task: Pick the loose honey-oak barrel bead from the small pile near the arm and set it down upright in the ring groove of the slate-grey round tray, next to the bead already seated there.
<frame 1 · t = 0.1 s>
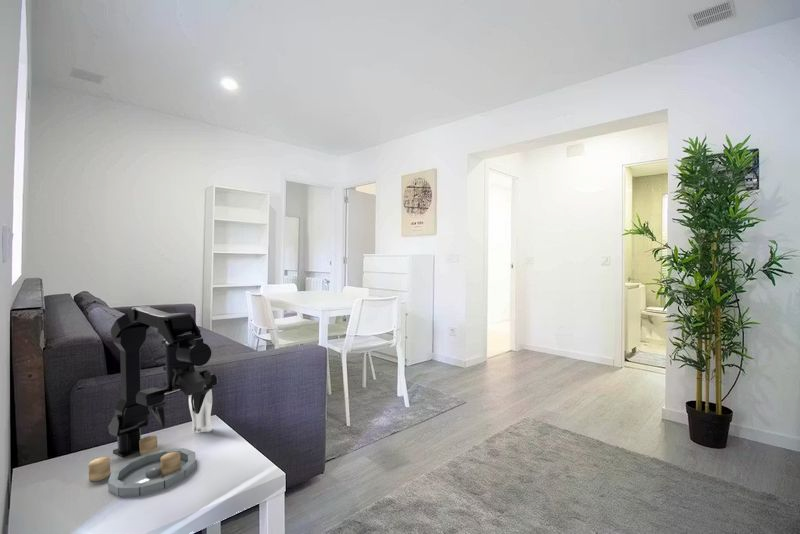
hand: (180, 419, 102), 15 cm above the table, fingers open, 9 cm apart
beer glass: (201, 432, 128), on the table
bead a: (100, 480, 100), on the table
tray: (155, 477, 101), on the table
bead b: (171, 475, 100), point 1 cm above the table, touching tray
bead c: (149, 455, 112), on the table
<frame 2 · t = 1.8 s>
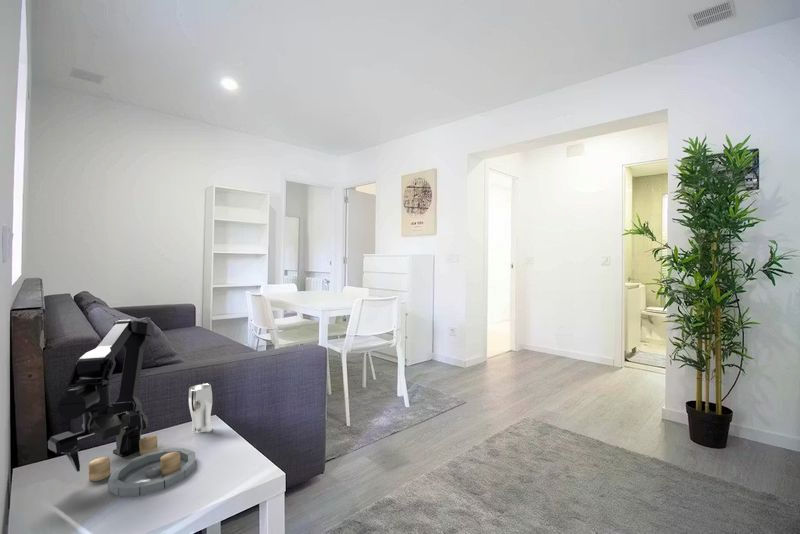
hand: (99, 462, 100), 5 cm above the table, fingers open, 9 cm apart
nothing on the table moved.
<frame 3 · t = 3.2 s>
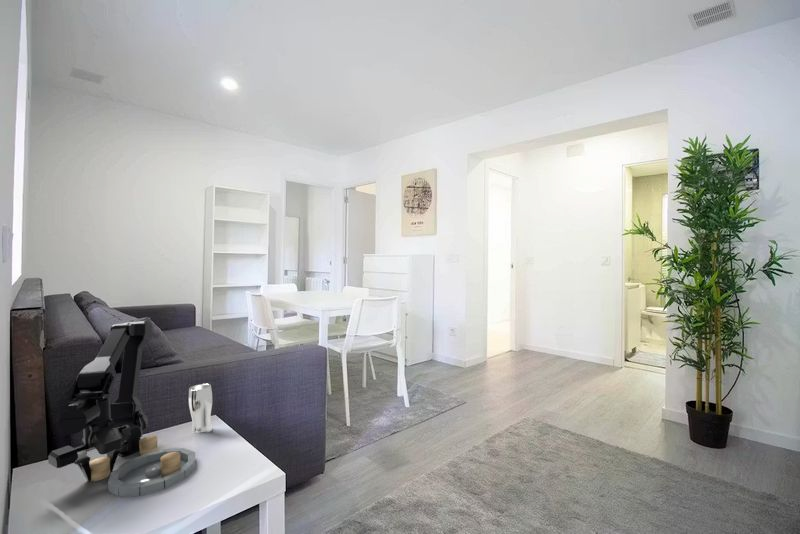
hand: (99, 476, 100), 1 cm above the table, fingers closed on bead a, 4 cm apart
bead a: (100, 480, 100), on the table, touching gripper
everything else where it was.
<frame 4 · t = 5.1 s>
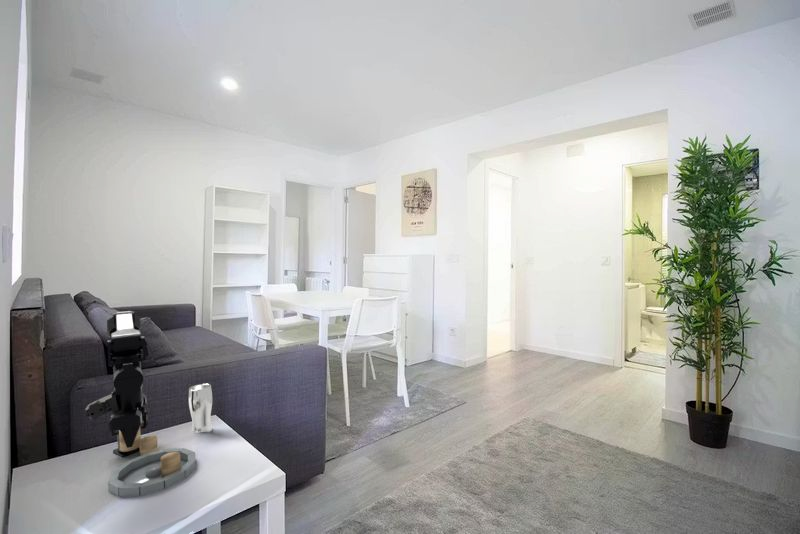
hand: (130, 443, 98), 10 cm above the table, fingers closed on bead a, 4 cm apart
bead a: (130, 447, 98), point 9 cm above the table, touching gripper
everything else where it was.
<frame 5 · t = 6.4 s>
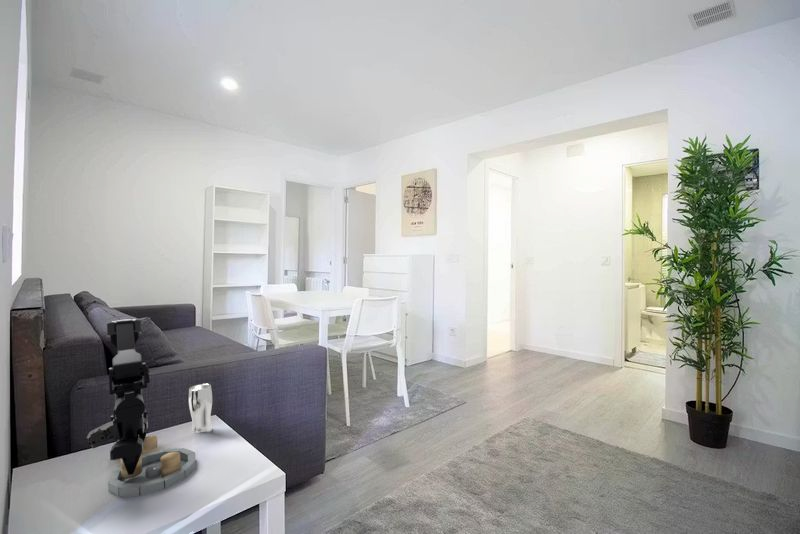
hand: (132, 469, 98), 4 cm above the table, fingers closed on bead a, 4 cm apart
bead a: (131, 473, 98), point 2 cm above the table, touching gripper
everything else where it was.
when the fingers open (4 cm above the table, at t = 7.0 s): bead a drops 1 cm, resting on tray.
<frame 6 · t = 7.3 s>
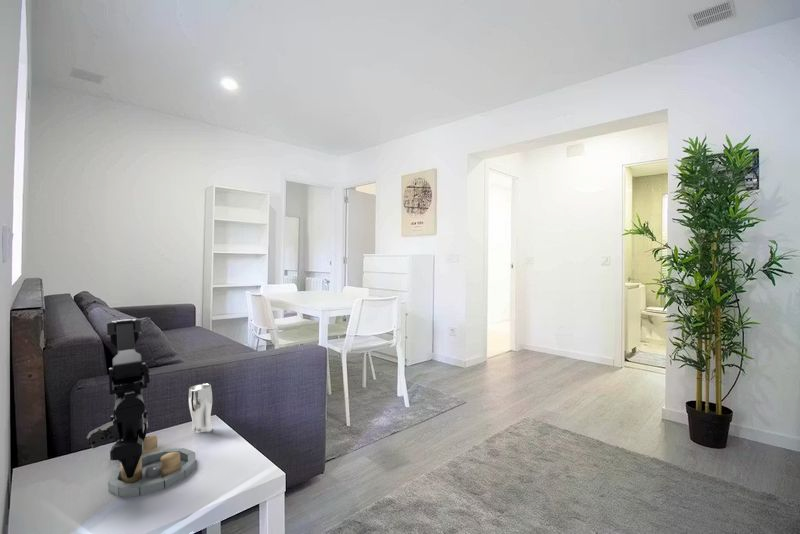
hand: (132, 469, 98), 4 cm above the table, fingers open, 8 cm apart
bead a: (132, 479, 98), point 1 cm above the table, touching tray
everything else where it was.
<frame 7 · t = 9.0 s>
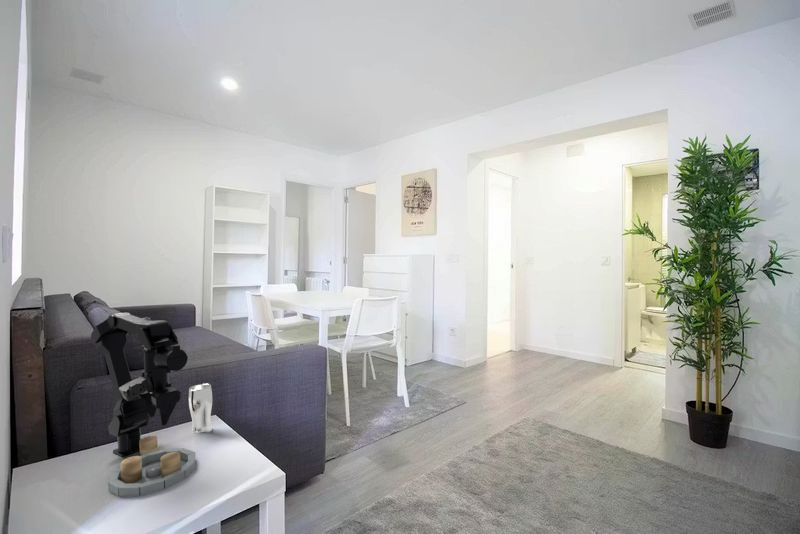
hand: (157, 420, 108), 12 cm above the table, fingers open, 9 cm apart
nothing on the table moved.
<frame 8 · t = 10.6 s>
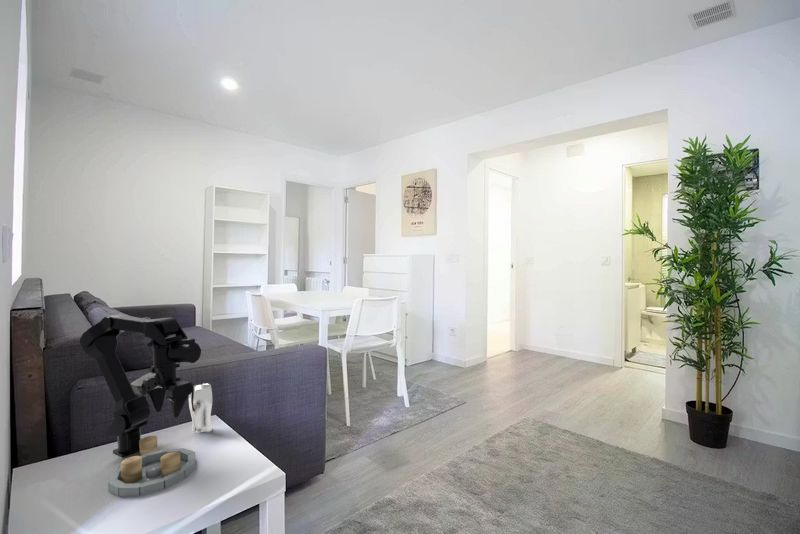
hand: (167, 414, 112), 12 cm above the table, fingers open, 9 cm apart
nothing on the table moved.
at the end: bead a inside the target area on the tray (5.0 cm from its centre), point 1.0 cm above the tray's base; bead a 4.9 cm from the tray (horizontally); bead a tilted 0° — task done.
